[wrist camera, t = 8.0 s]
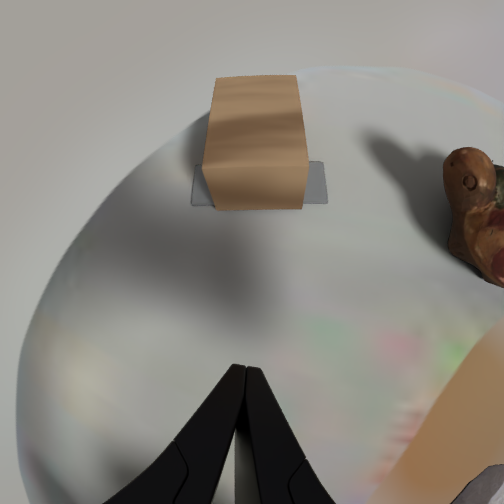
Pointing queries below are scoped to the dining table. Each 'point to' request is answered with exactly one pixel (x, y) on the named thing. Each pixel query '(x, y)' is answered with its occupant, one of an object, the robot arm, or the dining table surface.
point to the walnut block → (256, 144)
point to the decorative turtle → (476, 211)
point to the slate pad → (313, 194)
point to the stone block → (484, 488)
